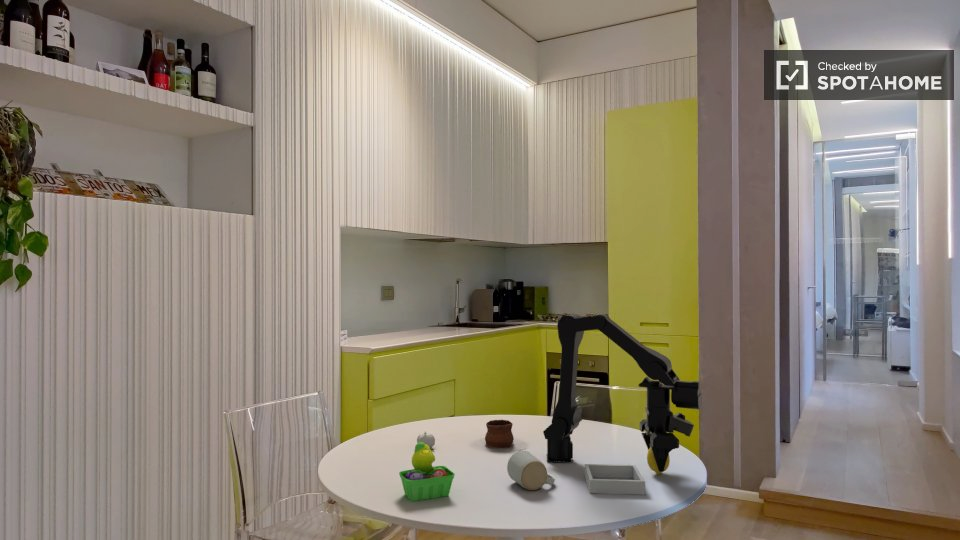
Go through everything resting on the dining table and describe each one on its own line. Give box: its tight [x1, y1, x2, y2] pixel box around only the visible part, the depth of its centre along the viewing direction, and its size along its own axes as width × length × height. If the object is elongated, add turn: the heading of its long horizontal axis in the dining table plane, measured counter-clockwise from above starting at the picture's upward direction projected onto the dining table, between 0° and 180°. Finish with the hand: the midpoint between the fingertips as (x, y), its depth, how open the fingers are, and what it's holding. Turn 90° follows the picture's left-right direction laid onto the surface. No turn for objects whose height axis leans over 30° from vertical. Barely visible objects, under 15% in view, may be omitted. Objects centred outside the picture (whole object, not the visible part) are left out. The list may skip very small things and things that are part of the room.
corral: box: [584, 463, 646, 496], centre depth 150 cm, size 13×13×3 cm
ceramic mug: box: [506, 449, 556, 491], centre depth 150 cm, size 11×8×8 cm
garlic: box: [416, 430, 436, 449], centre depth 182 cm, size 6×5×5 cm
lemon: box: [646, 447, 671, 475], centre depth 158 cm, size 6×6×8 cm
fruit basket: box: [398, 442, 455, 502], centre depth 144 cm, size 11×9×11 cm
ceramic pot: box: [484, 419, 525, 451], centre depth 187 cm, size 18×18×7 cm
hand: (658, 467), depth 158 cm, fingers open, 7 cm apart
